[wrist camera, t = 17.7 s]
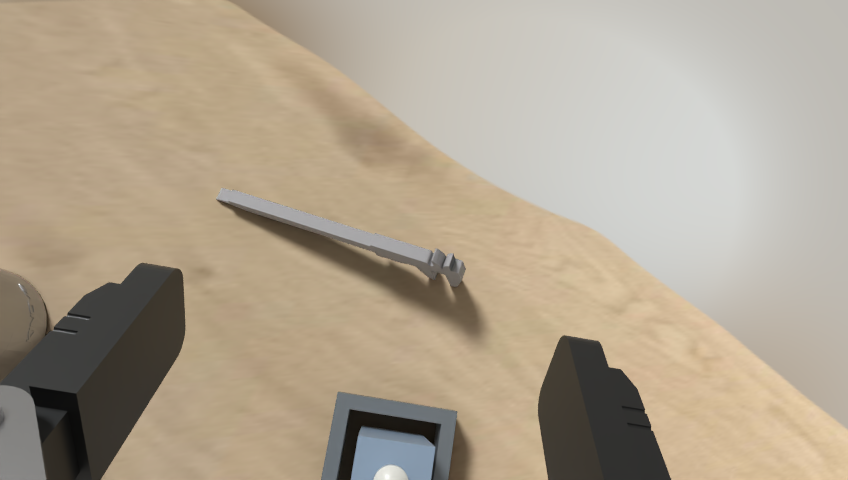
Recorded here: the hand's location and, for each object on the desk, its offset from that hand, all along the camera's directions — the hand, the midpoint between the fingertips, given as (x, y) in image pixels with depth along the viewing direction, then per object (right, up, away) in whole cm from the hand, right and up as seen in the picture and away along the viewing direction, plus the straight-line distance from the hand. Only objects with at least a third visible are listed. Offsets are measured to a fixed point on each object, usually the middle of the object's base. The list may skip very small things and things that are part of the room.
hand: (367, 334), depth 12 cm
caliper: (-6, +2, +34) cm, 35 cm away
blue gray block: (-1, -14, +30) cm, 33 cm away
